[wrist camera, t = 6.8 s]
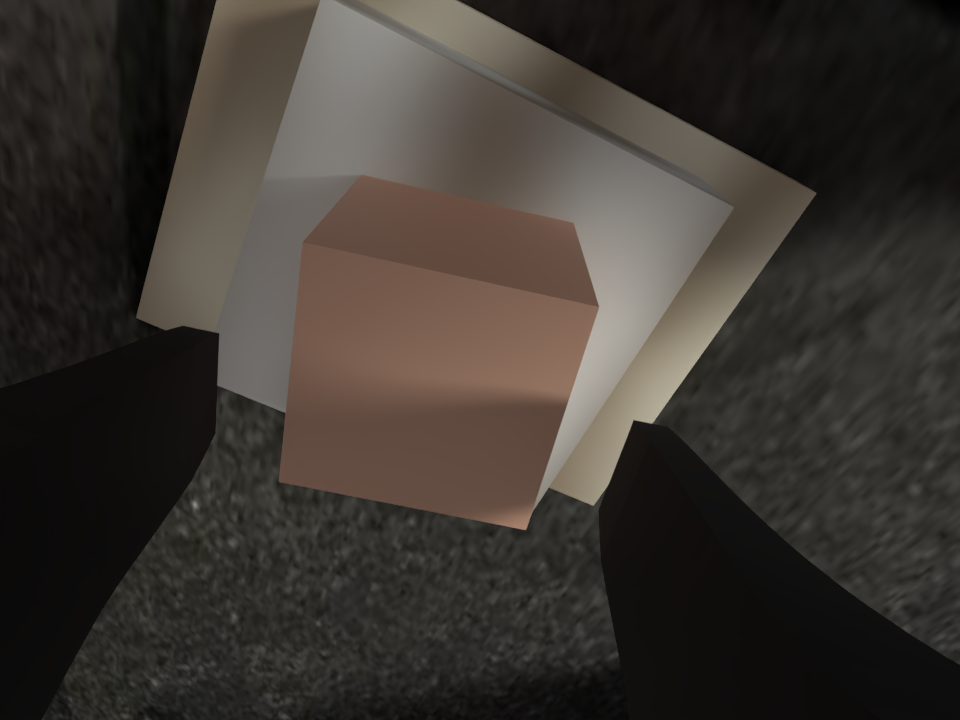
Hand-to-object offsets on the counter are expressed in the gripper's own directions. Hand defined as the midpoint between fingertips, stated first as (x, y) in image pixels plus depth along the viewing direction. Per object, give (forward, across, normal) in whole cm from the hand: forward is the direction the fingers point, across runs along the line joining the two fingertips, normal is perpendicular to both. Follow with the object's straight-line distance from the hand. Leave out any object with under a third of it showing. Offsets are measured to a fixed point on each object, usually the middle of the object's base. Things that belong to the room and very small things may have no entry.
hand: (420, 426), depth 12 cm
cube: (+6, 0, 0) cm, 6 cm away
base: (+10, 0, 0) cm, 10 cm away
